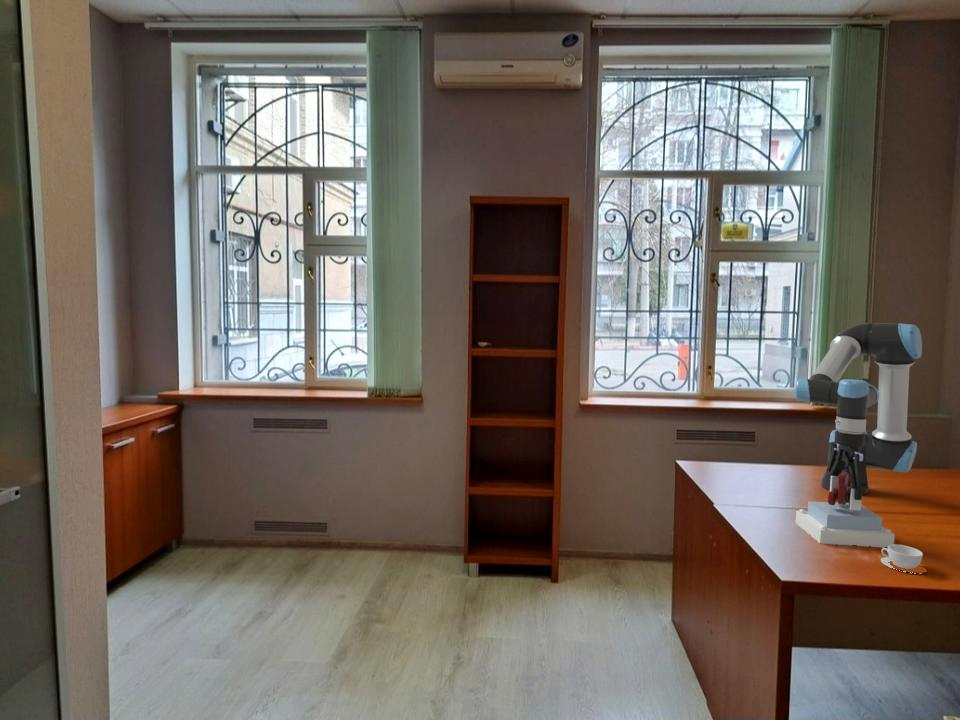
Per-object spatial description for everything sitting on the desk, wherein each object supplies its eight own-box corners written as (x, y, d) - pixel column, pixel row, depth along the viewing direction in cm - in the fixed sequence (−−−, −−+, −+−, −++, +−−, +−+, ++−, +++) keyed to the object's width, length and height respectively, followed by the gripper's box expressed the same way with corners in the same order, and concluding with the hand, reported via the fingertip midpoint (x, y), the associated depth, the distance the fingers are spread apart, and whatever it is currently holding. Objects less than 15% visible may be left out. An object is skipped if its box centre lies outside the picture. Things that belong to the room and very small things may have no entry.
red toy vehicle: (861, 502, 172) (864, 469, 171) (853, 512, 163) (856, 477, 162) (835, 497, 176) (837, 464, 176) (825, 506, 167) (828, 472, 166)
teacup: (928, 566, 150) (929, 549, 150) (926, 579, 143) (928, 561, 142) (882, 555, 157) (884, 539, 156) (878, 567, 149) (879, 550, 149)
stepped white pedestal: (862, 526, 177) (864, 502, 176) (893, 547, 161) (895, 521, 160) (795, 523, 179) (797, 498, 178) (819, 543, 163) (821, 516, 163)
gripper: (817, 423, 179) (812, 490, 181) (858, 439, 156) (852, 516, 158) (842, 424, 178) (837, 491, 180) (887, 441, 155) (880, 517, 157)
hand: (844, 503), depth 169 cm, fingers closed on red toy vehicle, 11 cm apart
